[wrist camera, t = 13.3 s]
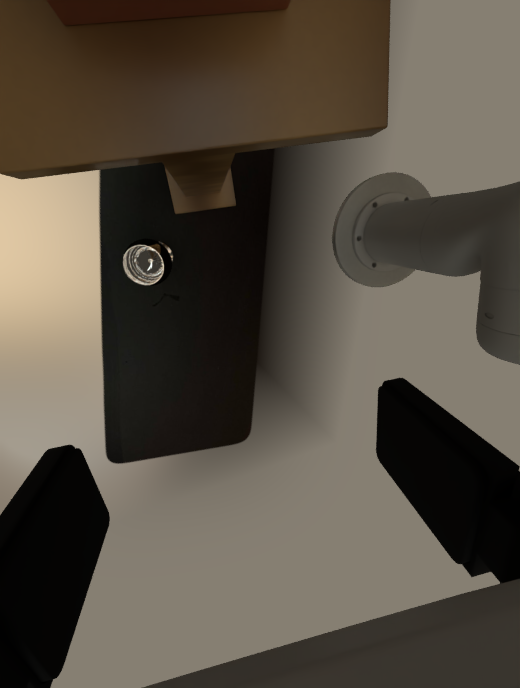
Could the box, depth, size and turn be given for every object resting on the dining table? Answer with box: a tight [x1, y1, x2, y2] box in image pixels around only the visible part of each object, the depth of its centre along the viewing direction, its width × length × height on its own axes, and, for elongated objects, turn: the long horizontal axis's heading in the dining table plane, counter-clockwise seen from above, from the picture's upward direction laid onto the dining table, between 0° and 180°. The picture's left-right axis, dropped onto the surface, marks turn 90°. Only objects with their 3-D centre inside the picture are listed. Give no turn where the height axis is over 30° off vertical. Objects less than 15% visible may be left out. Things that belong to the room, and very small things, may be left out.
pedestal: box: [0, 0, 390, 214], centre depth 25 cm, size 10×10×41 cm
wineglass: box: [122, 239, 173, 286], centre depth 41 cm, size 6×6×12 cm
